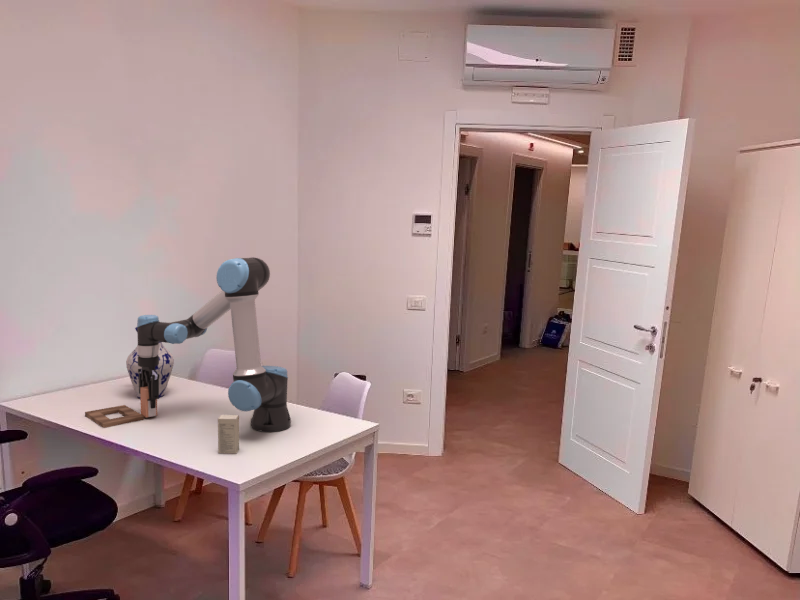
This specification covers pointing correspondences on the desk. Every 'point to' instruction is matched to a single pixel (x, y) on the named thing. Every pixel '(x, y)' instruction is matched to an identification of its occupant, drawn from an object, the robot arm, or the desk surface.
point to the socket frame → (104, 421)
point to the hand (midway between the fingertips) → (149, 414)
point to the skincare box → (228, 434)
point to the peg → (145, 401)
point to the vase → (161, 369)
